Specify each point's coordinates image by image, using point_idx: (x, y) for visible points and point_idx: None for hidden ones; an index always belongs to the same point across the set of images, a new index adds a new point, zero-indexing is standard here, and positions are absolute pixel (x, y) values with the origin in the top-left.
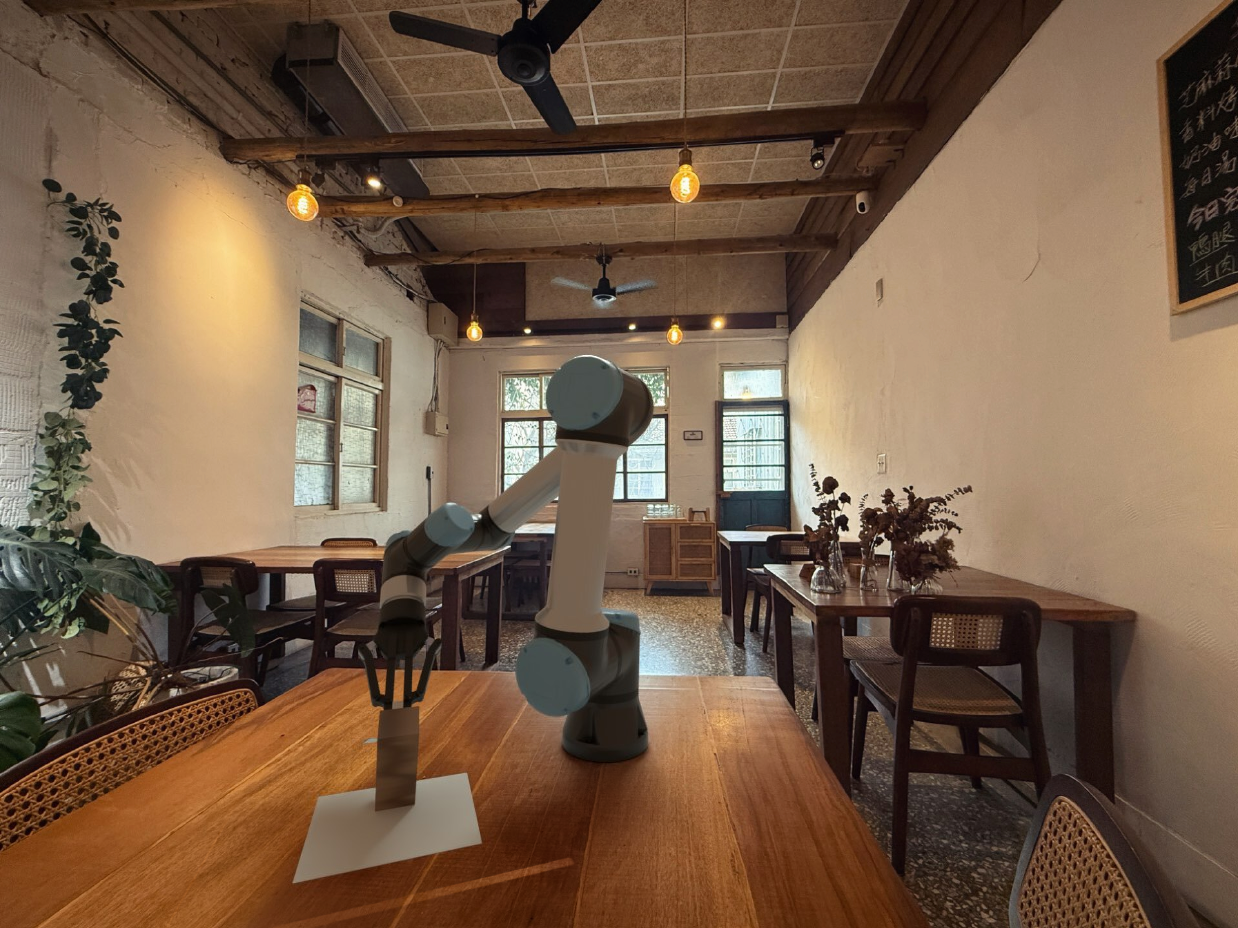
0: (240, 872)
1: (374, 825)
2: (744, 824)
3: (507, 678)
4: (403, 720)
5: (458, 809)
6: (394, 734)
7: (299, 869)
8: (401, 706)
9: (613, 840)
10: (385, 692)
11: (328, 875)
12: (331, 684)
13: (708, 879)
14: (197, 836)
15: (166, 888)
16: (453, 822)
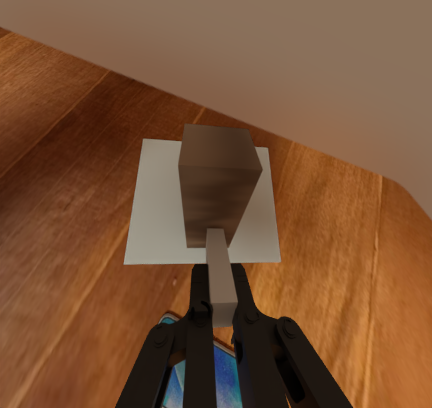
0: (302, 178)
1: None
2: None
3: None
4: (211, 144)
5: (150, 189)
6: (223, 129)
7: (267, 159)
8: (213, 287)
9: (41, 111)
10: (266, 338)
11: None
12: None
13: (9, 58)
14: (353, 235)
15: (338, 178)
16: (159, 172)
